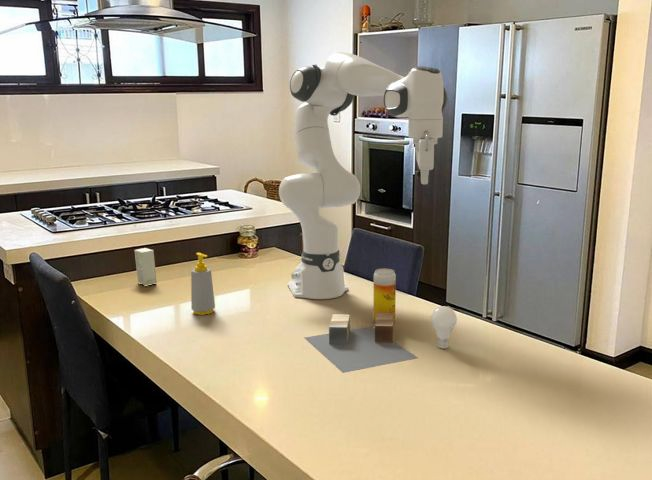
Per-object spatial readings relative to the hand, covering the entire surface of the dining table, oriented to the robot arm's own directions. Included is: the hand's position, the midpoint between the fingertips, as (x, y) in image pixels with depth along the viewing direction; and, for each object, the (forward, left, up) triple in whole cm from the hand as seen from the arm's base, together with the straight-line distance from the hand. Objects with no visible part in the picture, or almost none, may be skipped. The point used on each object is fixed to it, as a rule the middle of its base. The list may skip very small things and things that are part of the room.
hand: (424, 183), depth 167 cm
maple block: (+5, -28, -36) cm, 46 cm away
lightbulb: (+18, -5, -39) cm, 43 cm away
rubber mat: (+9, -24, -39) cm, 47 cm away
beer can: (-5, -9, -39) cm, 41 cm away
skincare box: (-74, -64, -39) cm, 105 cm away
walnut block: (+9, -17, -36) cm, 41 cm away
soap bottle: (-36, -53, -39) cm, 75 cm away
